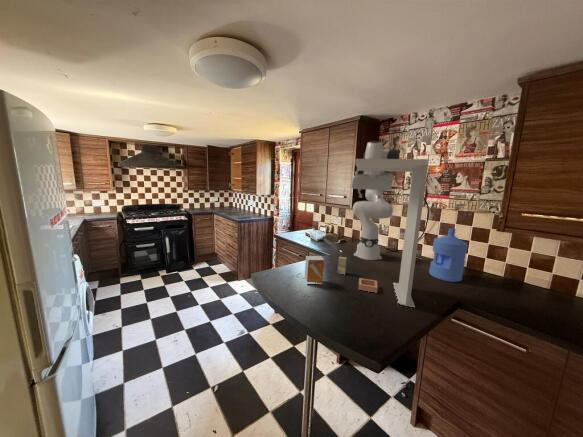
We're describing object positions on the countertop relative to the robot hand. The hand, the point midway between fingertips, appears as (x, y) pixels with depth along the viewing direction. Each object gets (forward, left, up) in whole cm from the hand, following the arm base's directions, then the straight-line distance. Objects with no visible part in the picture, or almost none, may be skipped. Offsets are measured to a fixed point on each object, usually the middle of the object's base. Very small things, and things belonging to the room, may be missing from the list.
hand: (369, 198), depth 123 cm
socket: (+20, +3, -43) cm, 47 cm away
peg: (+6, -11, -43) cm, 45 cm away
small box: (+24, -23, -43) cm, 54 cm away
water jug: (-14, +45, -43) cm, 64 cm away
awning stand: (+21, +7, -43) cm, 48 cm away
